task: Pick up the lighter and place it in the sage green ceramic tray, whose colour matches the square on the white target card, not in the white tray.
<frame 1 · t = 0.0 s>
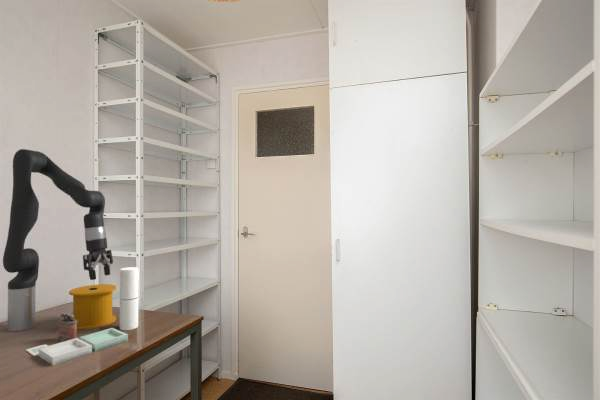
hand: (100, 277, 143), 22 cm above the table, tool pointing down, fingers open, 8 cm apart
cylindrical container: (128, 327, 148), on the table
target card: (40, 350, 125), on the table
green tray: (104, 342, 132), on the table
spool: (93, 322, 154), on the table
white tray: (65, 354, 122), on the table
lighter: (67, 340, 135), on the table
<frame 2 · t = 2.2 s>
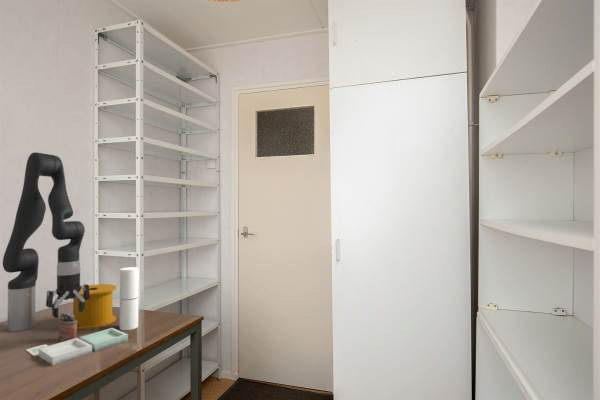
hand: (68, 314, 135), 10 cm above the table, tool pointing down, fingers open, 8 cm apart
nothing on the table moved.
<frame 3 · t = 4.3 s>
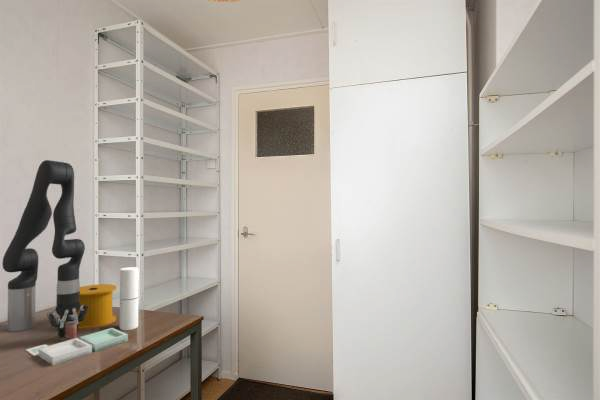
hand: (67, 335, 135), 2 cm above the table, tool pointing down, fingers closed on lighter, 3 cm apart
lighter: (67, 340, 135), on the table, touching gripper
everything else where it was.
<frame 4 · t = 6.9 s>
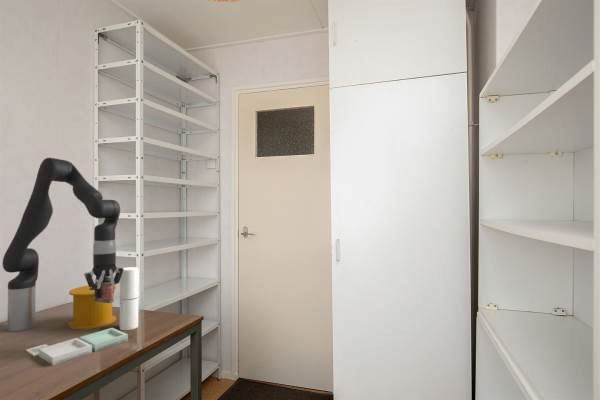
hand: (104, 296, 132), 17 cm above the table, tool pointing down, fingers closed on lighter, 3 cm apart
lighter: (104, 301, 132), point 15 cm above the table, touching gripper
everything else where it was.
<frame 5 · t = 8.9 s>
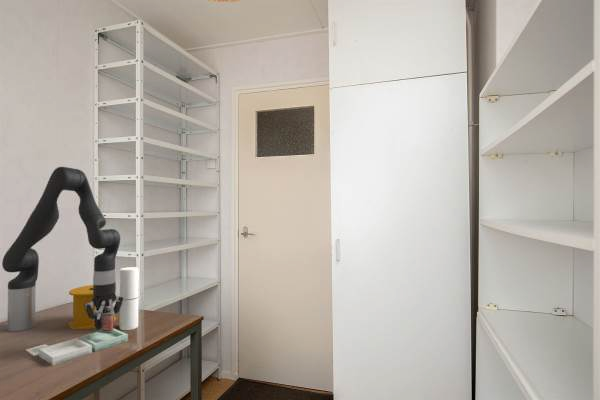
hand: (104, 326, 132), 6 cm above the table, tool pointing down, fingers closed on lighter, 3 cm apart
lighter: (104, 331, 132), point 4 cm above the table, touching gripper
everything else where it was.
when the fingers open (5 cm above the table, at t = 10.0 s): lighter drops 2 cm, resting on green tray.
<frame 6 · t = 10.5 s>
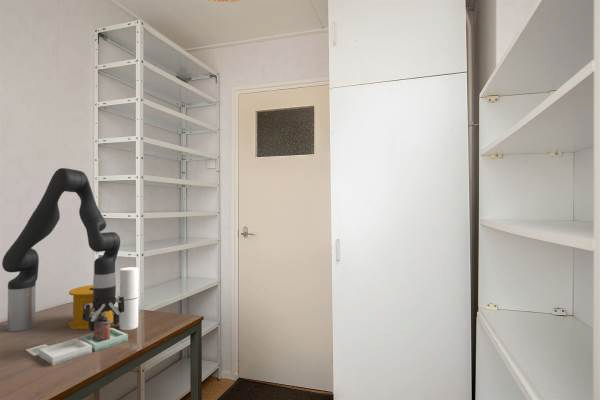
hand: (104, 327, 132), 6 cm above the table, tool pointing down, fingers open, 8 cm apart
lighter: (101, 340, 132), point 1 cm above the table, touching green tray
everything else where it was.
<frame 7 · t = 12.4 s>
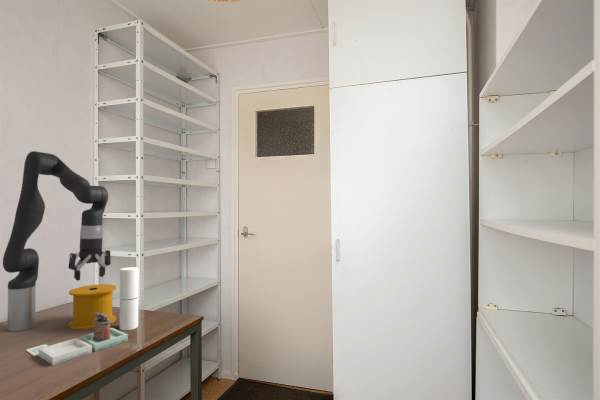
hand: (89, 278, 135), 24 cm above the table, tool pointing down, fingers open, 8 cm apart
nothing on the table moved.
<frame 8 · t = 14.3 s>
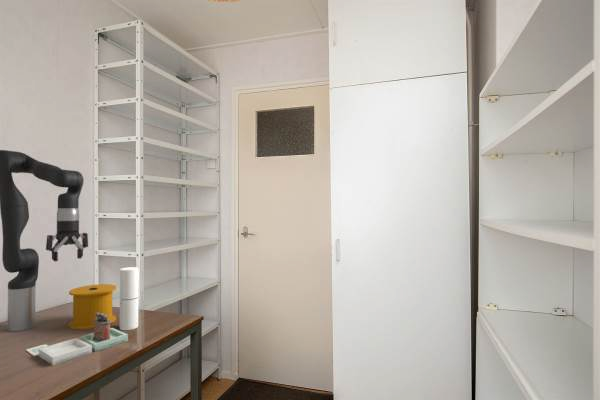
hand: (67, 259, 140), 30 cm above the table, tool pointing down, fingers open, 8 cm apart
nothing on the table moved.
at the end: lighter inside the target area on the green tray (0.9 cm from its centre), point 0.8 cm above the green tray's base; the gripper is holding nothing; cylindrical container moved 0.2 cm from its start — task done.
